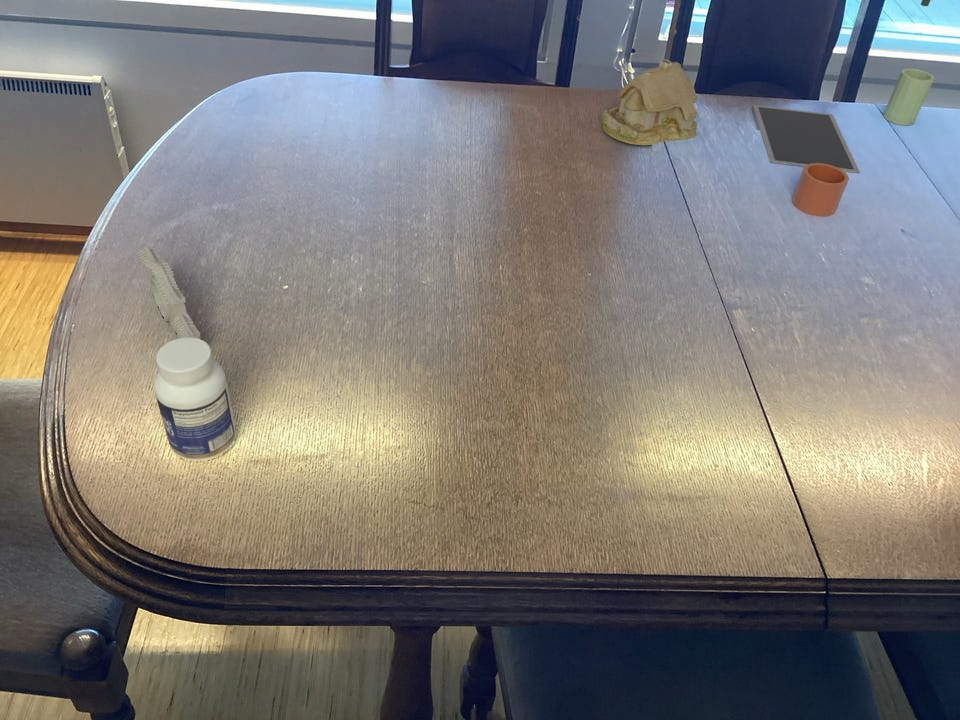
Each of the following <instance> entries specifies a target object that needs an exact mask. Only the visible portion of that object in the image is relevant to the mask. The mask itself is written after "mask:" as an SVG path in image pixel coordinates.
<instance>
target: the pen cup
mask: <svg viewBox="0 0 960 720" xmlns="http://www.w3.org/2000/svg"><path fill="white" fill-rule="evenodd" d="M934 80H935V76H934V75H933V74H932V73H930V72H928V71H926V70H923V69H918V68H912V67H911V68H909V67H908V68H904V69H902V70H901V72H900V75H899V77H898V79H897V82H896V84H895V86H894V89H893V91H892V93H891V95H890V98H889V100H888V103H887V105H886V107H885V110H884V112H883V114H882V117H883V118H884V119H885V120H886V121H888V122H890V123H892V124H895V125H899V126H912V125H914V124H915V122H916V120H917V118H918V116H919V113H920V111H921V109H922V107H923V105H924V103H925V100H926V98H927V96H928V94H929V92H930V90H931V87H932V85H933V83H934Z"/></svg>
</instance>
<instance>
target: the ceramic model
mask: <svg viewBox="0 0 960 720" xmlns="http://www.w3.org/2000/svg"><path fill="white" fill-rule="evenodd" d="M616 97H617V98H618V99H620V104H619V106H616V107H612V108H611V109H606V110H603V112H602V113H601V116H600V123H601V129H602V131H603V132H604V133H605V134H607V135H608V136H610V138H613V139H614V140H617V141H619V142H623V143H626V144H629V145H634V146H635V145H636V146H652V145H653V144H657V143H660V142H671V141H686V140H691V139H694V138H696V137H697V136H698V134H697V129H698V122H697V121H696V118H697V117H698V111H697V109H696V107H695V105H694V104H695V103H696V102H697V95H696V90H695V86H694V84H693V81H692V79H690V78H689V77H688V75H687V73H686V72H685V70H684V69H683V67H682V64H681V63H679V62H678V61H671V60H669V59H667V58H664V59H662V60H660V61H659V65H658V66H656V67H652V68H649V69H644V71H643V72H642V73H640V74H638V75H637V76H636V77H635V78H633V79H631V80H630V81H629V82H627V83H626V85H624V86H623V87H622V88H621V90H620V91H619V92H618V93H617V96H616Z"/></svg>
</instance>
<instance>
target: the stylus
mask: <svg viewBox="0 0 960 720" xmlns="http://www.w3.org/2000/svg"><path fill="white" fill-rule="evenodd" d="M930 2H931V0H921V2H920V6H922V7H929V5H930Z"/></svg>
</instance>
